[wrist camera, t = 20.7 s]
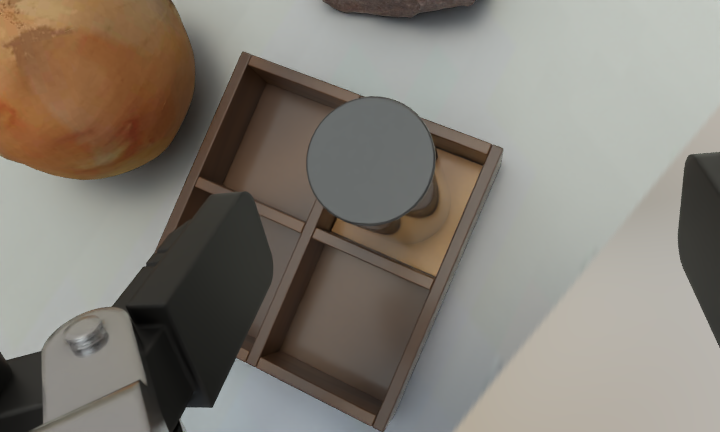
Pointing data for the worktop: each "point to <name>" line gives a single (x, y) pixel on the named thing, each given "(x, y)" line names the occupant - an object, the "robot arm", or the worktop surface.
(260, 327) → the brown compartment tray
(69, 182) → the worktop surface
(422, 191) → the dark grey cylinder
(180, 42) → the onion
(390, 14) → the stone
